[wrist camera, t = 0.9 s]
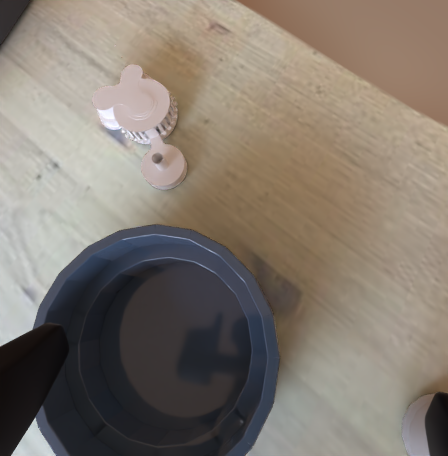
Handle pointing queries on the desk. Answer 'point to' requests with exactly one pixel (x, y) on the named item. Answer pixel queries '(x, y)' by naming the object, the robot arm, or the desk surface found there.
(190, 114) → the desk surface
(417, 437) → the rook chess piece
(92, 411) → the basin
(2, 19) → the media streaming box
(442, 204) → the desk surface
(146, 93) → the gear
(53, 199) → the desk surface
